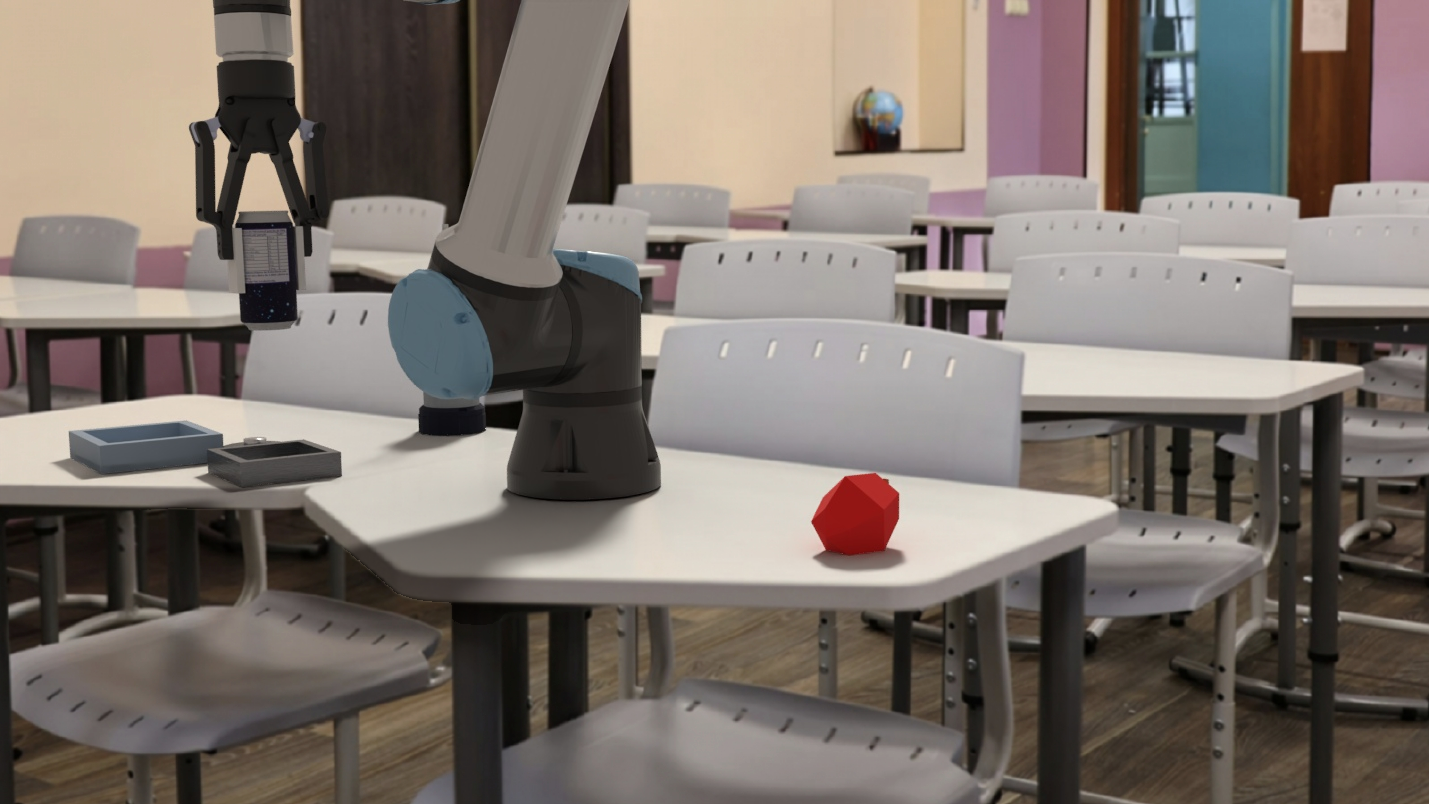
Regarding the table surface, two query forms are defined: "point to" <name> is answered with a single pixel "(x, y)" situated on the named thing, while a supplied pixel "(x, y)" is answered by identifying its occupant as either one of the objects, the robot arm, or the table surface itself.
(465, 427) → the humidifier
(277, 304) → the beverage can
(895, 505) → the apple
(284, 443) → the grey flat rectangular frame
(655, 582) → the table surface
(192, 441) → the tray
